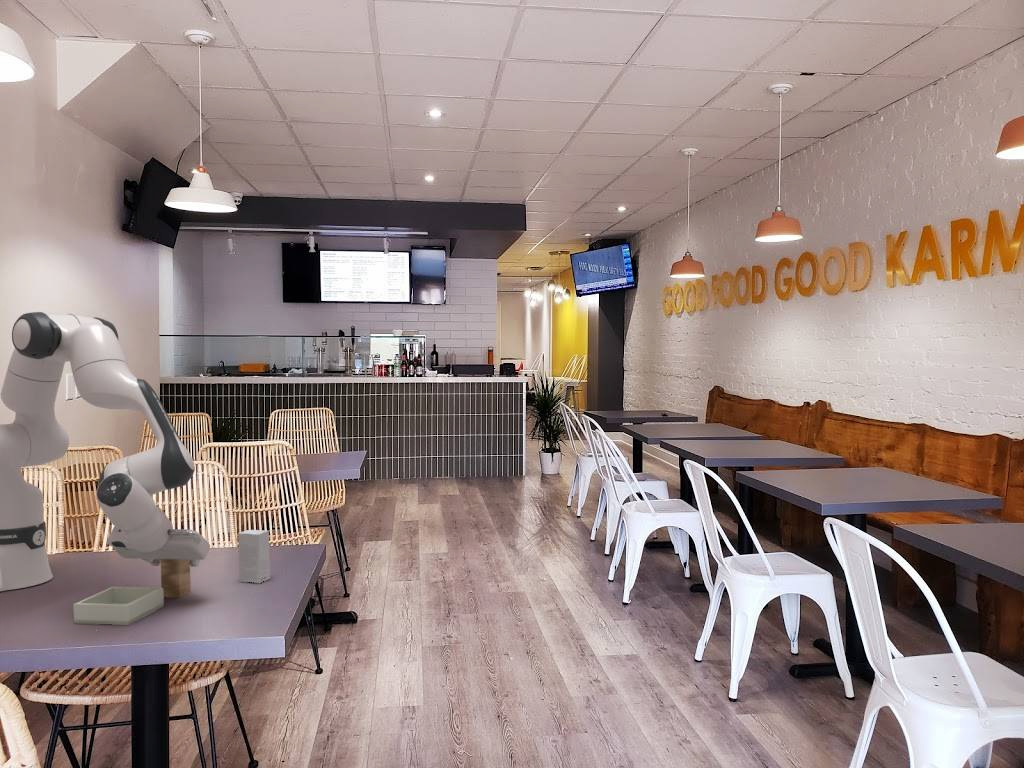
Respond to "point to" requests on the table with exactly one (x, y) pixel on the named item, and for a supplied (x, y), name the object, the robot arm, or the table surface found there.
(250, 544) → the skincare box
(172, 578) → the oak block
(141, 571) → the table surface
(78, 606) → the bin
